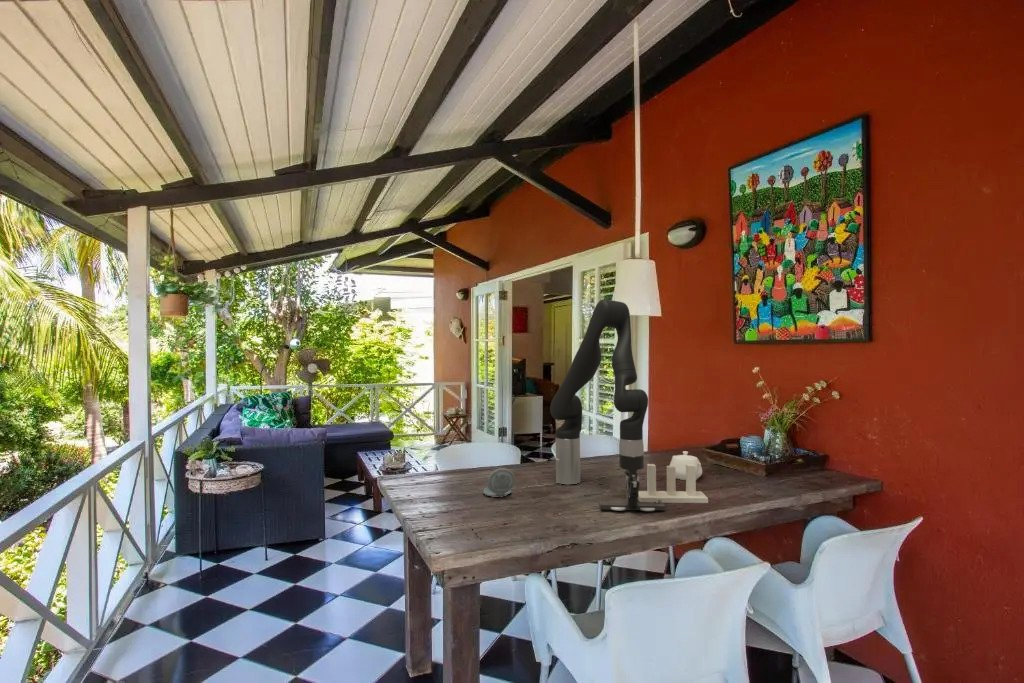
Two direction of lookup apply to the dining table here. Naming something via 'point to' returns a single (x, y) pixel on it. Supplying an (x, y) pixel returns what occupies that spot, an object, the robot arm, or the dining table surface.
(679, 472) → the teapot
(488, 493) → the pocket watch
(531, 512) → the dining table surface
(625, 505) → the spectacle frame
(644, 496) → the display stand
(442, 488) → the dining table surface
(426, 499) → the dining table surface
